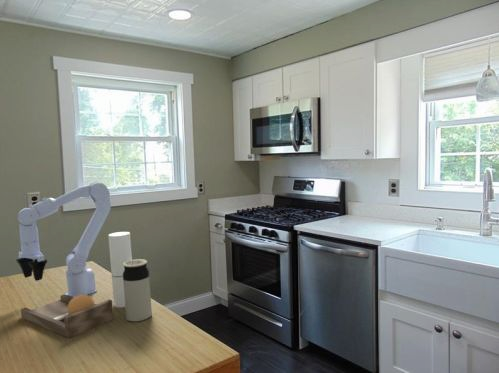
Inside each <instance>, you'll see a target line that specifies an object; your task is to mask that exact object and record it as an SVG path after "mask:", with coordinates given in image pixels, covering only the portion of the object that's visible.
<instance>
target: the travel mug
mask: <svg viewBox="0 0 499 373" xmlns="http://www.w3.org/2000/svg"><path fill="white" fill-rule="evenodd" d="M147 263H148V260H146V259H143V258H139V259H138V258H136V259H132V260H130V261H126V262H124V263H123V266H124V269H125V270H124V272H123V284H124V296H125V307H124V309H125V318H126V320H127V321H129V322H142V321H145V320H148V318H151V316H152V314H153V312H152V309H153V308H152V297H151V296H152V295H151V287H150V286H151V284H150V283H151V282H150V281H151V280H150V270H149V269H148V267H147Z"/></svg>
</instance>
